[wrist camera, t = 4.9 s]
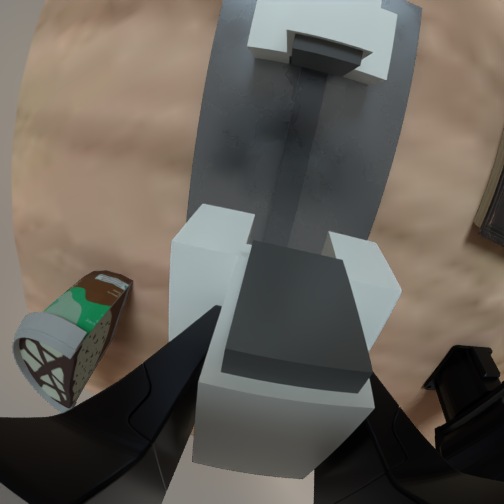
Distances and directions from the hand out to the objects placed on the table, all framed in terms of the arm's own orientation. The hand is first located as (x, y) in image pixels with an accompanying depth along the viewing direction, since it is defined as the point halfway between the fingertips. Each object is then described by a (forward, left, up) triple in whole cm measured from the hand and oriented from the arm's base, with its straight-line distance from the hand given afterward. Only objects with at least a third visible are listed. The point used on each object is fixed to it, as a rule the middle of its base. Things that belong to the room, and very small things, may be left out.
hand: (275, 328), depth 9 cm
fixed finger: (+11, 0, -11) cm, 15 cm away
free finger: (0, 0, -4) cm, 4 cm away
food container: (-12, +15, -12) cm, 23 cm away
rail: (+5, 0, -12) cm, 13 cm away
